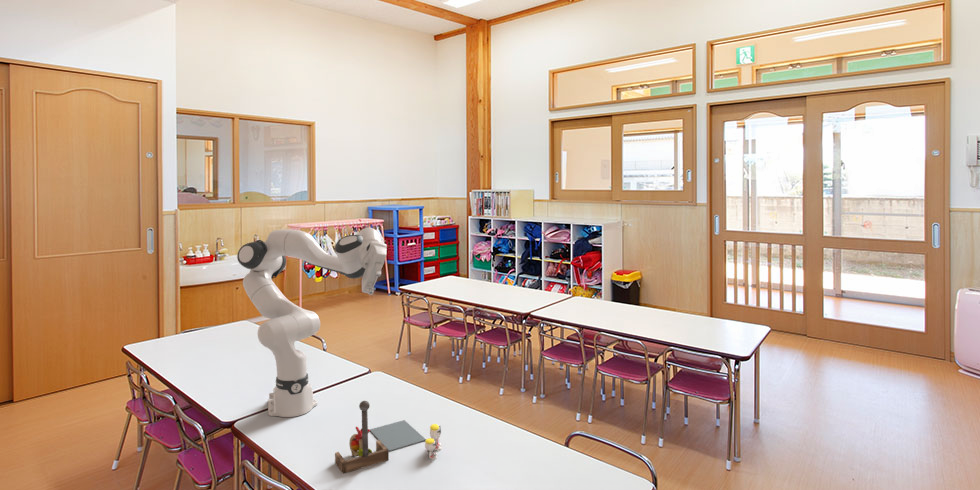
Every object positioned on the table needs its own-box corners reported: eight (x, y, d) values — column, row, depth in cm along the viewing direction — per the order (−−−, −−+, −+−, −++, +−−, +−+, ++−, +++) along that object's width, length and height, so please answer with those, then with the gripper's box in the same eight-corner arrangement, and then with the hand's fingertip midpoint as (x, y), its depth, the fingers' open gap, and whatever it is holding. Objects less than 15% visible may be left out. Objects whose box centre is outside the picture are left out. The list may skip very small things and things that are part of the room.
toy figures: (436, 461, 177) (436, 437, 176) (423, 460, 177) (423, 436, 176) (444, 443, 189) (444, 420, 187) (432, 442, 189) (432, 419, 188)
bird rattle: (347, 465, 177) (364, 463, 172) (337, 432, 178) (354, 429, 173) (361, 457, 182) (378, 455, 177) (352, 425, 184) (368, 422, 178)
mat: (369, 430, 197) (369, 429, 197) (404, 421, 205) (404, 420, 205) (389, 451, 182) (389, 450, 182) (425, 440, 190) (425, 439, 190)
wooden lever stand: (335, 462, 175) (333, 398, 172) (379, 449, 183) (378, 388, 180) (344, 475, 168) (342, 408, 165) (389, 461, 176) (388, 397, 173)
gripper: (356, 277, 209) (358, 302, 199) (371, 238, 198) (374, 263, 188) (372, 279, 212) (374, 305, 202) (388, 241, 201) (391, 265, 191)
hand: (374, 284), depth 195 cm, fingers open, 8 cm apart
